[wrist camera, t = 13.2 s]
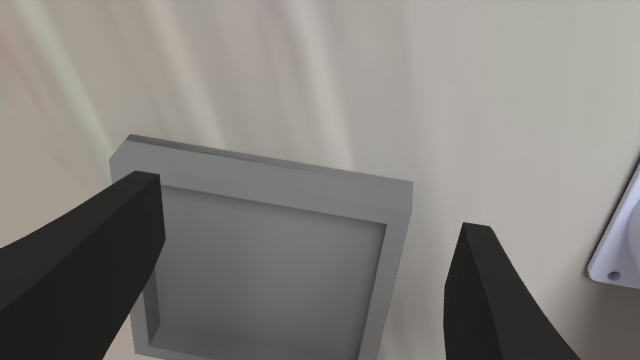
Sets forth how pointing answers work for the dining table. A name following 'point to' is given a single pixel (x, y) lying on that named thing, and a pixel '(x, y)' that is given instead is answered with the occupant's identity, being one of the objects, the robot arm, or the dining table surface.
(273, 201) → the charcoal tray
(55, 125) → the dining table surface
